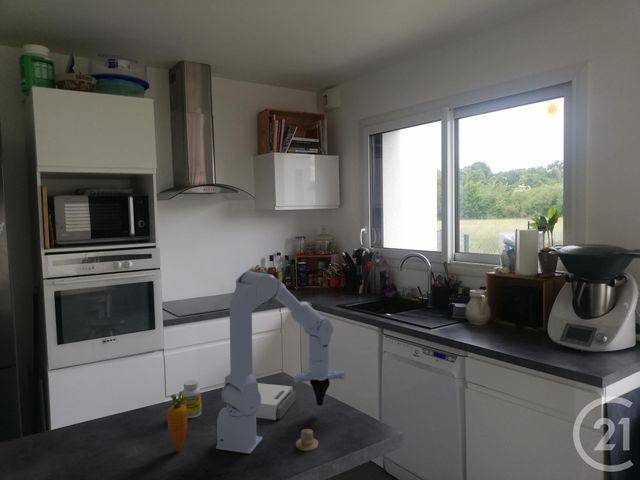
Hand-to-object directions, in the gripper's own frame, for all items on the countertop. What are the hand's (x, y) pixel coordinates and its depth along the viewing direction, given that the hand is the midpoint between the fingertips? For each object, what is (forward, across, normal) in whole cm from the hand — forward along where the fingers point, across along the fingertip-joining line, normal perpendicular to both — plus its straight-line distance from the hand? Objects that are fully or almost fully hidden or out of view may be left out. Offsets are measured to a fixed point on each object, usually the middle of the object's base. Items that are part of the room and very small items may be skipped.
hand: (319, 404), depth 137 cm
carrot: (+3, -38, -13) cm, 40 cm away
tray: (+3, -14, +8) cm, 16 cm away
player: (+3, -16, +8) cm, 18 cm away
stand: (+3, -6, -17) cm, 18 cm away
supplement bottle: (+3, -36, +8) cm, 37 cm away
